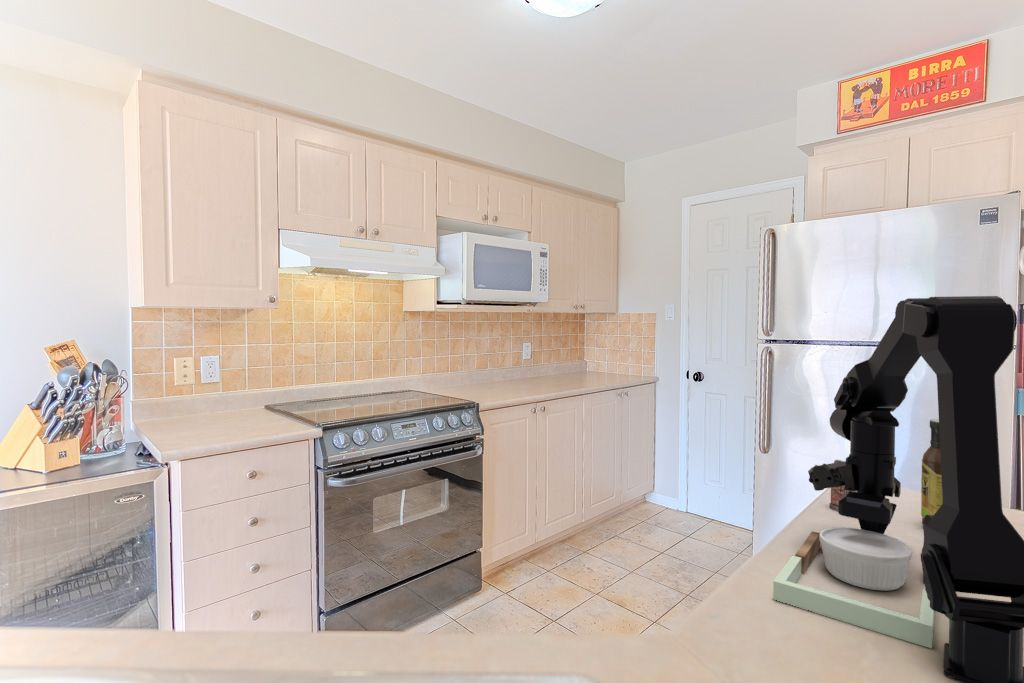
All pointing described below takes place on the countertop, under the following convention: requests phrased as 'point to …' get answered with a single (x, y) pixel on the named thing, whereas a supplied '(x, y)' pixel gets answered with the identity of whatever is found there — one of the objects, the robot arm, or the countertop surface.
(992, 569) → the robot arm
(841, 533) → the ramekin
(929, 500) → the sauce bottle
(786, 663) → the countertop surface
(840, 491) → the lighter
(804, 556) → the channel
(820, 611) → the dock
